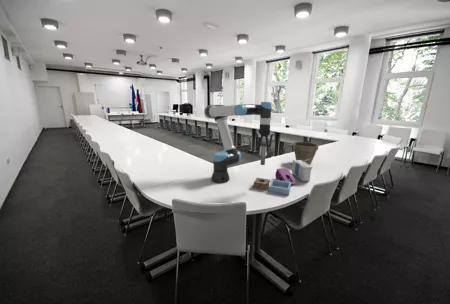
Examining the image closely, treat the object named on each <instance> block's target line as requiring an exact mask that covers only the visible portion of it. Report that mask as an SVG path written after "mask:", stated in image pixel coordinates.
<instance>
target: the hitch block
mask: <svg viewBox="0 0 450 304" xmlns="http://www.w3.org/2000/svg"><path fill="white" fill-rule="evenodd" d="M269 185H270V179H269V178H262V177H256V178H255V179H254V181H253V189H257V190H262V191H267V190H269Z"/></svg>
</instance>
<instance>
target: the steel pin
mask: <svg viewBox="0 0 450 304" xmlns="http://www.w3.org/2000/svg"><path fill="white" fill-rule="evenodd" d="M261 146H262V147H261V156H260V165H262V166H265V165H266V156H265V147H266V140H262V142H261Z"/></svg>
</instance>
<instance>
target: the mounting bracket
mask: <svg viewBox="0 0 450 304" xmlns="http://www.w3.org/2000/svg"><path fill="white" fill-rule="evenodd" d="M275 180H278V181H285V182H291V186H295V184H296V182H297V181H296V179H295V177H294V176H293V173H292V172H291V171H290V170H289V168H288V167H281V168H280V167H279V168H277V169H276V171H275Z"/></svg>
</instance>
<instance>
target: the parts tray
mask: <svg viewBox="0 0 450 304" xmlns="http://www.w3.org/2000/svg"><path fill="white" fill-rule="evenodd" d="M291 183H292V182H291V181H289V182H285V181H283V180H277V179H272V180H271V182H270V183H269V187H268V192H269V193H273V194H278V195H284V196H290V192H291V191H290V190H291Z"/></svg>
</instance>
